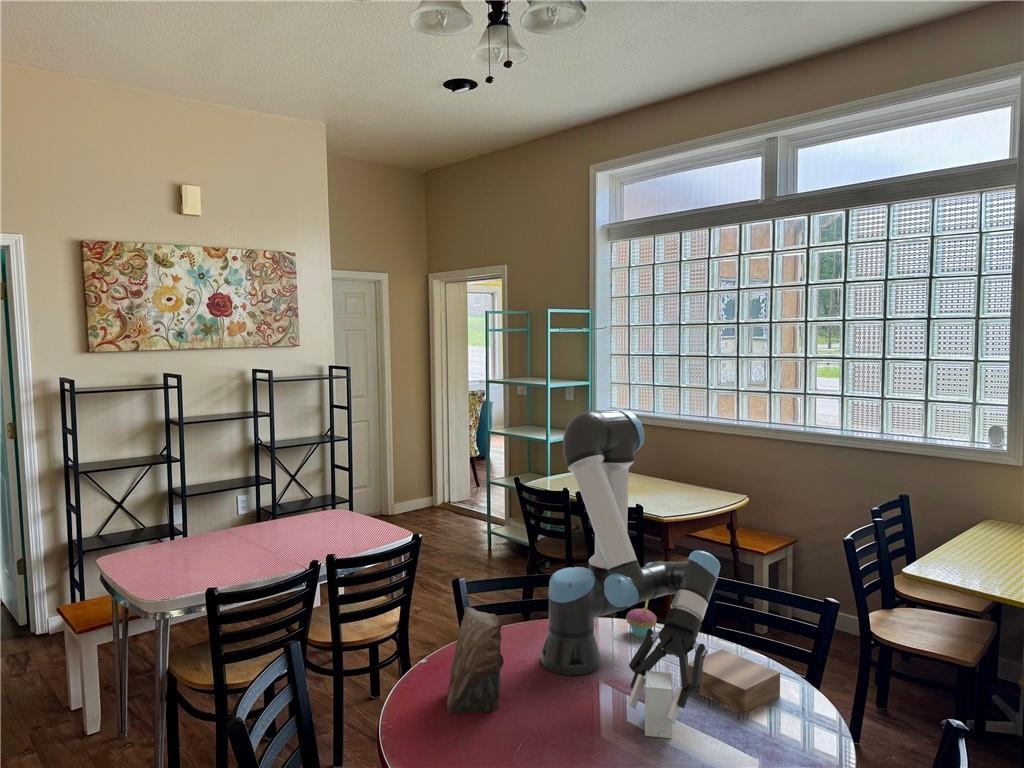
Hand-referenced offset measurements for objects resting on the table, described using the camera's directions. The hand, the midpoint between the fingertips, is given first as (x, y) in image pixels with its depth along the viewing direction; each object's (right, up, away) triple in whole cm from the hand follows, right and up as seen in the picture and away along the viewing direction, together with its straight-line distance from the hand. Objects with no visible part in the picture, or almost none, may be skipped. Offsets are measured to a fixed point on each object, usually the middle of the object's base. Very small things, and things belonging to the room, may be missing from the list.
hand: (650, 713), depth 144 cm
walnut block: (+23, -4, +19) cm, 30 cm away
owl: (-39, -4, +13) cm, 41 cm away
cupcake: (+8, -3, +52) cm, 53 cm away
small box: (+2, -5, +3) cm, 6 cm away
